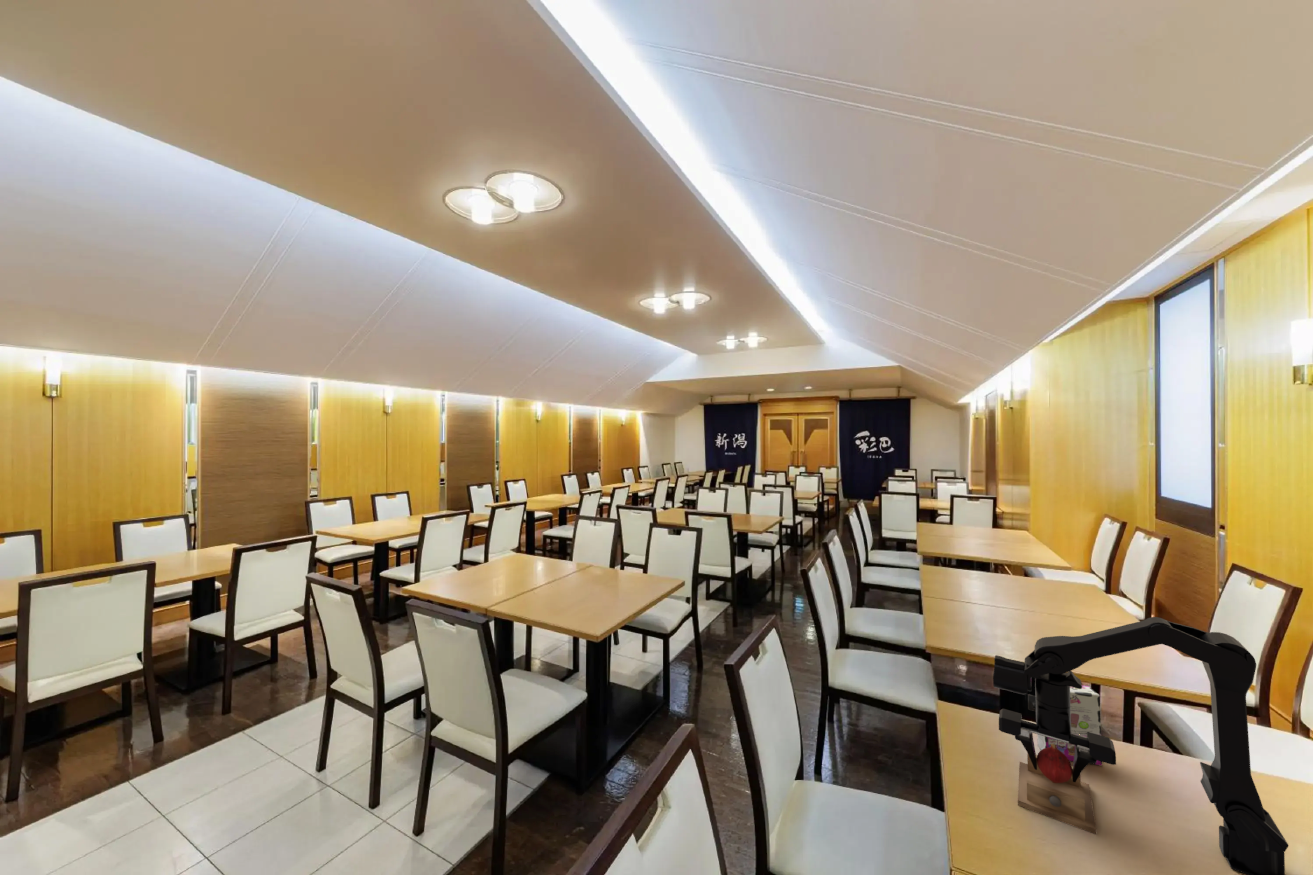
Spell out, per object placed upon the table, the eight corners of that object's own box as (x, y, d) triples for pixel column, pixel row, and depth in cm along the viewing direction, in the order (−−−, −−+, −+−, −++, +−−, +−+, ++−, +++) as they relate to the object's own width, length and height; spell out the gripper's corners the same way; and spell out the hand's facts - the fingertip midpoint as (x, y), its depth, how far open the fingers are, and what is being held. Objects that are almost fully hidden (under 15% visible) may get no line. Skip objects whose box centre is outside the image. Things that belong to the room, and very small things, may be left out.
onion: (1079, 794, 97) (1079, 755, 97) (1047, 790, 98) (1046, 751, 98) (1061, 774, 103) (1061, 737, 103) (1031, 771, 104) (1030, 734, 104)
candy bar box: (1090, 753, 114) (1089, 684, 115) (1103, 766, 110) (1101, 695, 110) (1035, 744, 118) (1034, 678, 118) (1045, 757, 113) (1044, 688, 113)
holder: (1089, 788, 103) (1088, 767, 103) (1096, 834, 91) (1095, 810, 91) (1019, 765, 110) (1019, 746, 110) (1017, 804, 99) (1017, 783, 99)
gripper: (1108, 698, 101) (1110, 772, 101) (1000, 673, 113) (1002, 739, 113) (1115, 723, 93) (1117, 803, 92) (997, 693, 104) (999, 764, 104)
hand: (1054, 774), depth 101 cm, fingers closed on onion, 6 cm apart
